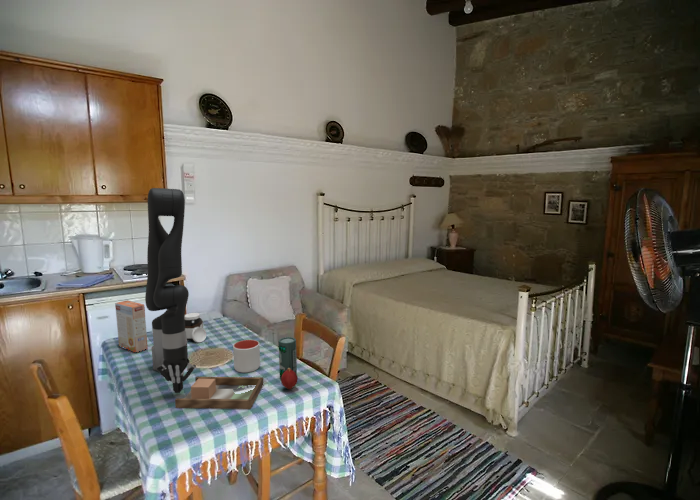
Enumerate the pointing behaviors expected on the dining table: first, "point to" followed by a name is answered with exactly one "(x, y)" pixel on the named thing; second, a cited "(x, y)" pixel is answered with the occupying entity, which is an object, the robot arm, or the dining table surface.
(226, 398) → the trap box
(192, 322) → the spread jar
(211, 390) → the block
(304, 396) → the dining table surface
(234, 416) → the dining table surface
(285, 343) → the can
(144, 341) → the cracker box
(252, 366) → the cup
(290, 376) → the red oval fruit
